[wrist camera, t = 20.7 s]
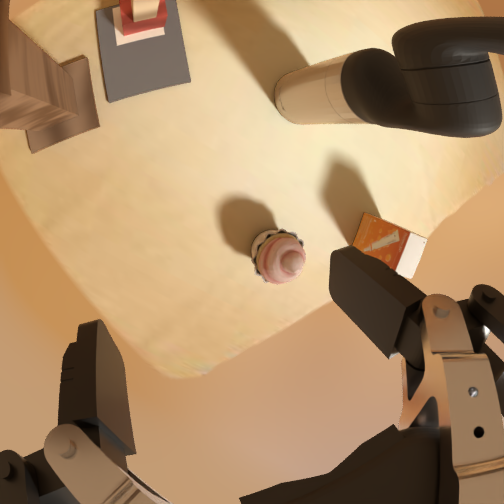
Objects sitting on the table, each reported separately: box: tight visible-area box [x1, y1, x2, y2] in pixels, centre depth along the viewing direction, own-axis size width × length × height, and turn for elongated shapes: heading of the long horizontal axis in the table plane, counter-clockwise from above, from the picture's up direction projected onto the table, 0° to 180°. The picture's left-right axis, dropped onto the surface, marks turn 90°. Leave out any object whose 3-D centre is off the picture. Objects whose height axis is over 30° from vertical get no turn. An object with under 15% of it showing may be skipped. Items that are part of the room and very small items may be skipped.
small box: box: [352, 212, 427, 278], centre depth 52 cm, size 8×6×13 cm
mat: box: [96, 0, 191, 103], centre depth 32 cm, size 12×16×1 cm
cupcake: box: [251, 229, 306, 284], centre depth 47 cm, size 9×9×10 cm
